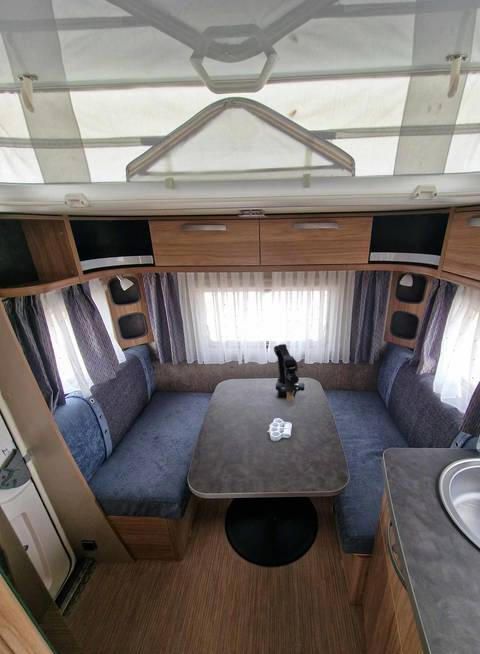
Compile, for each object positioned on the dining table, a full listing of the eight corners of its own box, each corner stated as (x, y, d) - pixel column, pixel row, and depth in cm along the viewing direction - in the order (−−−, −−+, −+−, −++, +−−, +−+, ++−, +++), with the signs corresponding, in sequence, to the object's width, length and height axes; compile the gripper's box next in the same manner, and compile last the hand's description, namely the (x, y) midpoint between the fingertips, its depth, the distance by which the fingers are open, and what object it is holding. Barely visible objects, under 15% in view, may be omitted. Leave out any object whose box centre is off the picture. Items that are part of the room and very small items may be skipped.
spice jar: (286, 401, 189) (286, 391, 186) (287, 397, 193) (286, 387, 190) (293, 401, 188) (293, 391, 185) (293, 398, 193) (293, 387, 189)
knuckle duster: (289, 442, 167) (265, 440, 169) (292, 423, 183) (269, 421, 185) (289, 437, 165) (265, 435, 167) (292, 419, 181) (269, 417, 184)
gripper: (274, 382, 178) (275, 403, 184) (304, 383, 175) (304, 404, 182) (276, 374, 188) (276, 394, 194) (304, 374, 185) (304, 395, 192)
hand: (290, 397), depth 190 cm, fingers closed on spice jar, 4 cm apart
